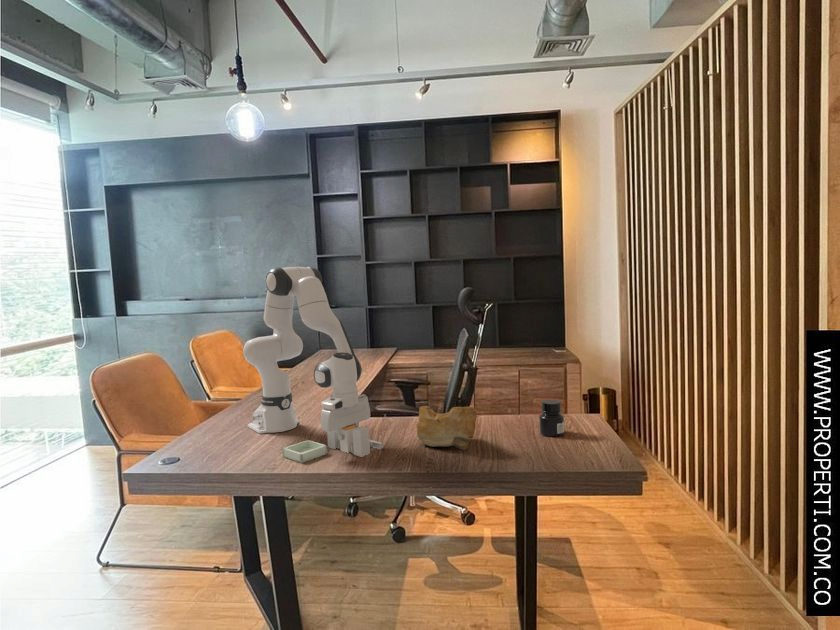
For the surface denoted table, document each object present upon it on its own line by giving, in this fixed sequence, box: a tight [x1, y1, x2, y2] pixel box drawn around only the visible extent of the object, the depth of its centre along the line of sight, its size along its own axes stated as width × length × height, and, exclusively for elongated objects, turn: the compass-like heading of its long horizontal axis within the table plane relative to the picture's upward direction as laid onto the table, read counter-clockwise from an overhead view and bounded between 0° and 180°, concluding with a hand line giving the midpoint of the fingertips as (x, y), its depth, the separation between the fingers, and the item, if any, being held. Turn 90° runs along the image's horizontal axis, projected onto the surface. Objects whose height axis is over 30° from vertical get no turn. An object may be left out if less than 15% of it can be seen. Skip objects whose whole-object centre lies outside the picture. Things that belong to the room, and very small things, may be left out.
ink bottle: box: [538, 399, 565, 438], centre depth 182 cm, size 10×9×12 cm
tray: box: [282, 439, 328, 464], centre depth 171 cm, size 11×11×3 cm
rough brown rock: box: [416, 405, 478, 451], centre depth 176 cm, size 23×17×15 cm
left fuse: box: [326, 430, 340, 450], centre depth 178 cm, size 4×4×9 cm
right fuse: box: [352, 425, 371, 458], centre depth 169 cm, size 4×4×9 cm
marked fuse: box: [340, 424, 355, 454], centre depth 174 cm, size 4×4×9 cm
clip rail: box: [337, 438, 384, 455], centre depth 177 cm, size 18×10×3 cm, turn 49°
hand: (347, 437), depth 174 cm, fingers open, 4 cm apart
